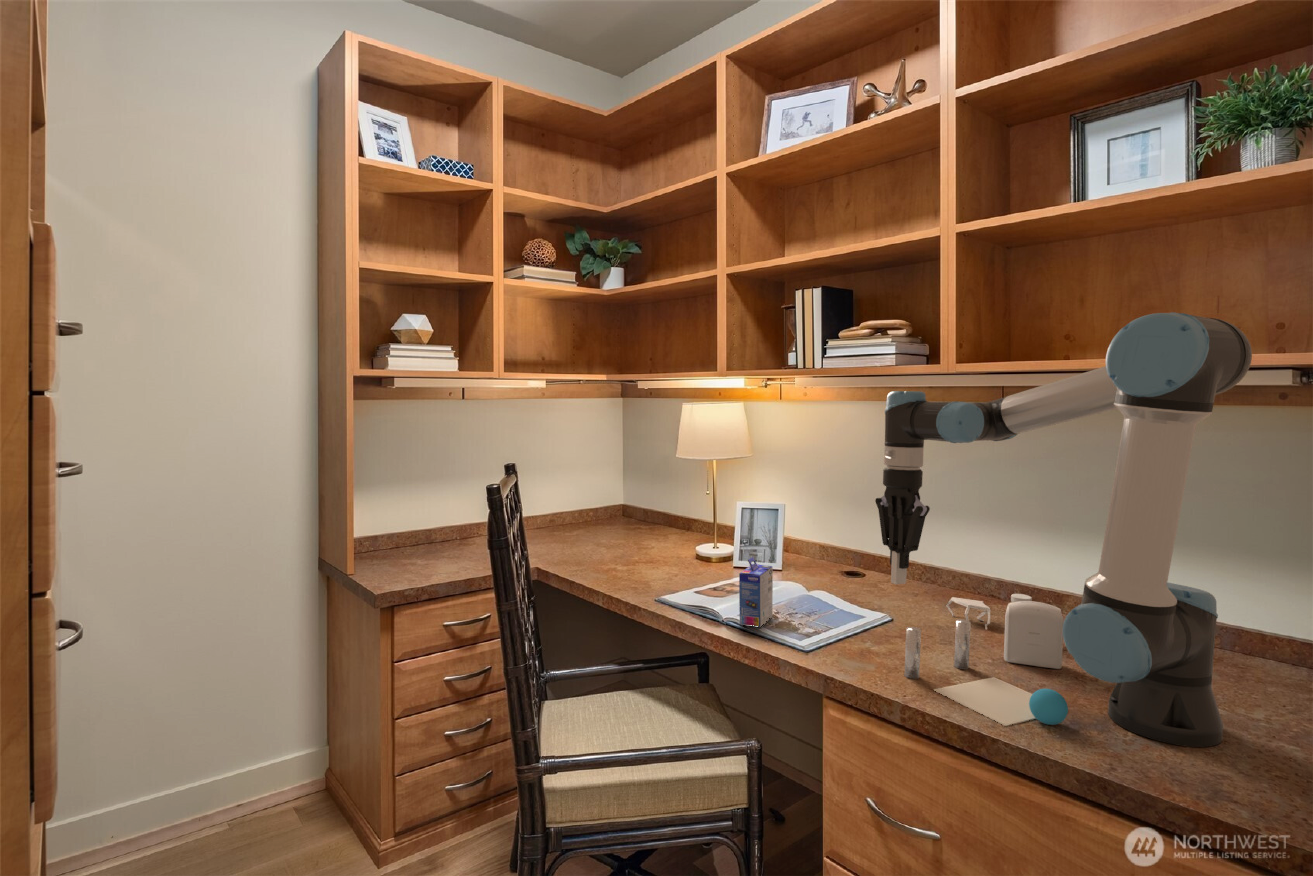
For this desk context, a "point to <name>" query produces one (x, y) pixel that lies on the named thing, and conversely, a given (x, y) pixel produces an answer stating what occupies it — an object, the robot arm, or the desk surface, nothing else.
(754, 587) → the ink cartridge box
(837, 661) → the desk surface
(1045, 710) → the ball
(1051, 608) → the photo printer
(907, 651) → the gate post left
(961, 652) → the gate post right
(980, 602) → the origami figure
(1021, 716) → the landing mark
